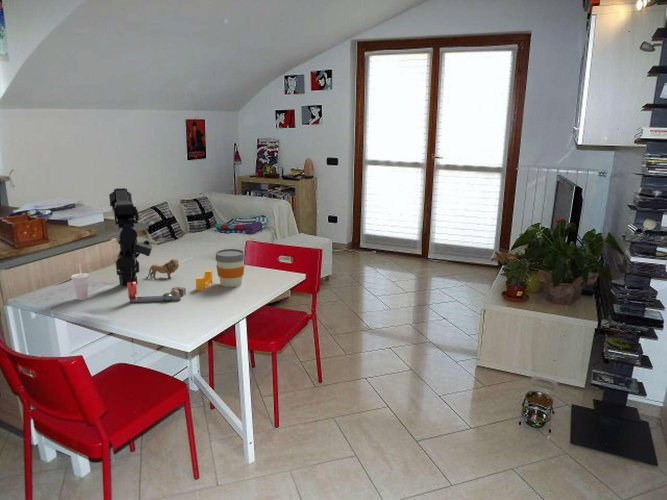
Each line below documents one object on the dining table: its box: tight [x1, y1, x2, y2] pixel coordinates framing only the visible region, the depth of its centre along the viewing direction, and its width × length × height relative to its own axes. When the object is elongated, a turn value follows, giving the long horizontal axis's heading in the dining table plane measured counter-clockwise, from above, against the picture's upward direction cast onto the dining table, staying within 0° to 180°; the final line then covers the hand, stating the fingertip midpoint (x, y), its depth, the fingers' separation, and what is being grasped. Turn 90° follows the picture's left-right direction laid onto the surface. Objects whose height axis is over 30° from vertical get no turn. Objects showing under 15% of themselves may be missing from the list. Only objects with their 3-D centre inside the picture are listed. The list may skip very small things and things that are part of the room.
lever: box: [126, 281, 182, 304], centre depth 196 cm, size 19×4×8 cm, turn 101°
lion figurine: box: [145, 258, 180, 281], centre depth 225 cm, size 15×5×9 cm, turn 104°
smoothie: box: [70, 264, 90, 301], centre depth 199 cm, size 6×6×14 cm
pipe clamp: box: [195, 269, 213, 291], centre depth 215 cm, size 12×4×6 cm, turn 173°
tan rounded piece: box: [169, 289, 179, 295], centre depth 201 cm, size 4×4×4 cm
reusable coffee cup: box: [215, 248, 246, 288], centre depth 218 cm, size 13×13×15 cm
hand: (130, 276), depth 191 cm, fingers open, 9 cm apart
